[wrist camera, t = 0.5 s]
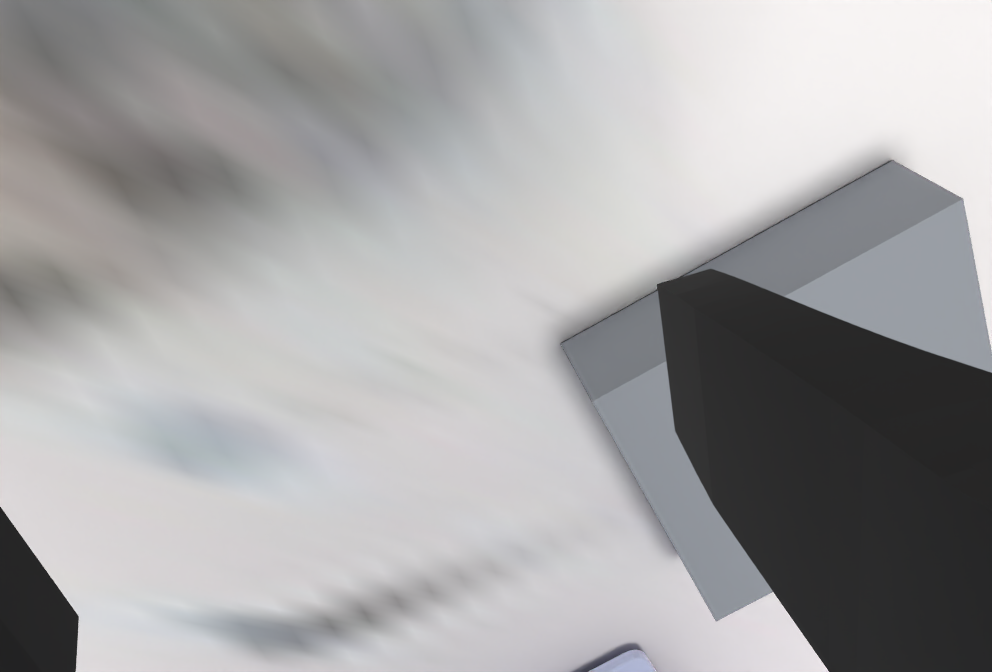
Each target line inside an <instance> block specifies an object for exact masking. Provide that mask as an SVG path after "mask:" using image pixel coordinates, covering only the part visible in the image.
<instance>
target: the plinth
mask: <svg viewBox="0 0 992 672" xmlns="http://www.w3.org/2000/svg"><path fill="white" fill-rule="evenodd" d="M707 269H714V270H717V271H720V272H723V273H726V274H729V275H731V276H734V277H737V278H739V279H742V280H744V281H747V282H749V283H752V284H754V285H757V286H759V287H762V288H764V289H767V290H769V291H772V292H774V293H776V294H779V295H781V296H784V297H786V298H789V299H791V300H794V301H796V302H799V303H801V304H803V305H806V306H808V307H811V308H813V309H816V310H818V311H821V312H823V313H826V314H828V315H831V316H833V317H836V318H838V319H841V320H843V321H846V322H849V323H851V324H854V325H856V326H859V327H861V328H864V329H867V330H869V331H872V332H875V333H877V334H880V335H883V336H885V337H888V338H891V339H893V340H896V341H899V342H902V343H905V344H907V345H910V346H913V347H916V348H919V349H921V350H924V351H927V352H930V353H933V354H936V355H939V356H942V357H945V358H948V359H952V360H955V361H958V362H961V363H964V364H967V365H970V366H973V367H976V368H979V369H982V370H985V371H988V372H991V373H992V351H991V346H990V341H989V335H988V330H987V325H986V319H985V314H984V308H983V303H982V298H981V292H980V287H979V282H978V276H977V271H976V265H975V260H974V255H973V249H972V244H971V239H970V233H969V228H968V222H967V217H966V212H965V206H964V201H963V198H961V197H959V196H957V195H955V194H953V193H952V192H950V191H948V190H946V189H944V188H943V187H941V186H939V185H937V184H935V183H933V182H932V181H930V180H928V179H926V178H924V177H923V176H921V175H919V174H917V173H915V172H913V171H912V170H910V169H908V168H906V167H904V166H903V165H901V164H899V163H897V162H895V161H893V160H892V161H890V162H889V163H887V164H885V165H883V166H881V167H880V168H878V169H876V170H874V171H872V172H871V173H869V174H867V175H865V176H863V177H862V178H860V179H858V180H856V181H854V182H852V183H851V184H849V185H847V186H845V187H843V188H842V189H840V190H838V191H836V192H834V193H833V194H831V195H829V196H827V197H825V198H824V199H822V200H820V201H818V202H816V203H815V204H813V205H811V206H809V207H807V208H805V209H804V210H802V211H800V212H798V213H796V214H795V215H793V216H791V217H789V218H787V219H786V220H784V221H782V222H780V223H778V224H777V225H775V226H773V227H771V228H769V229H767V230H766V231H764V232H762V233H760V234H758V235H757V236H755V237H753V238H751V239H749V240H748V241H746V242H744V243H742V244H740V245H739V246H737V247H735V248H733V249H731V250H730V251H728V252H726V253H724V254H722V255H720V256H719V257H717V258H715V259H713V260H711V261H710V262H708V263H706V264H704V265H702V266H701V267H699V268H697V269H695V270H693V271H692V272H690V273H688V274H686V275H684V276H687V275H691V274H694V273H697V272H701V271H704V270H707ZM684 276H683V277H684ZM561 345H562V347H563V349H564V351H565V353H566V355H567V356H568V358H569V360H570V362H571V364H572V366H573V368H574V369H575V371H576V373H577V375H578V377H579V379H580V380H581V382H582V384H583V386H584V388H585V390H586V391H587V393H588V395H589V397H590V399H591V401H592V402H593V404H594V406H595V408H596V410H597V411H598V413H599V415H600V417H601V418H602V420H603V422H604V424H605V425H606V427H607V429H608V431H609V433H610V434H611V436H612V438H613V440H614V441H615V443H616V445H617V447H618V449H619V450H620V452H621V454H622V456H623V457H624V459H625V461H626V463H627V464H628V466H629V468H630V470H631V472H632V473H633V475H634V477H635V479H636V480H637V482H638V484H639V486H640V487H641V489H642V491H643V493H644V495H645V496H646V498H647V500H648V502H649V503H650V505H651V507H652V509H653V511H654V512H655V514H656V516H657V518H658V519H659V521H660V523H661V525H662V526H663V528H664V530H665V532H666V534H667V535H668V537H669V539H670V541H671V542H672V544H673V546H674V548H675V549H676V551H677V553H678V555H679V557H680V558H681V560H682V562H683V564H684V565H685V567H686V569H687V571H688V573H689V574H690V576H691V578H692V580H693V581H694V583H695V585H696V587H697V588H698V590H699V592H700V594H701V596H702V597H703V599H704V601H705V603H706V604H707V606H708V608H709V610H710V611H711V613H712V615H713V617H714V619H715V620H716V621H718V620H720V619H722V618H724V617H726V616H727V615H729V614H731V613H733V612H735V611H737V610H739V609H741V608H743V607H745V606H747V605H749V604H751V603H752V602H754V601H756V600H758V599H760V598H762V597H764V596H766V595H768V594H770V593H772V592H773V591H772V589H771V588H770V586H769V585H768V584H767V582H766V581H765V579H764V578H763V576H762V575H761V574H760V572H759V571H758V569H757V568H756V566H755V565H754V564H753V562H752V561H751V559H750V558H749V556H748V555H747V553H746V552H745V551H744V549H743V548H742V546H741V545H740V543H739V542H738V540H737V539H736V538H735V536H734V535H733V533H732V532H731V530H730V529H729V527H728V526H727V525H726V523H725V522H724V520H723V519H722V517H721V516H720V514H719V513H718V511H717V510H716V508H715V507H714V505H713V504H712V502H711V500H710V498H709V496H708V494H707V492H706V490H705V489H704V487H703V485H702V483H701V481H700V479H699V477H698V475H697V474H696V472H695V470H694V468H693V466H692V464H691V462H690V460H689V458H688V456H687V454H686V452H685V450H684V448H683V446H682V444H681V442H680V440H679V438H678V436H677V434H676V432H675V427H674V419H673V411H672V403H671V395H670V386H669V378H668V370H667V362H666V354H665V345H664V337H663V329H662V321H661V313H660V305H659V296H658V290H657V291H655V292H654V293H652V294H650V295H648V296H646V297H645V298H643V299H641V300H639V301H637V302H636V303H634V304H632V305H630V306H628V307H626V308H625V309H623V310H621V311H619V312H617V313H616V314H614V315H612V316H610V317H608V318H607V319H605V320H603V321H601V322H599V323H598V324H596V325H594V326H592V327H590V328H588V329H587V330H585V331H583V332H581V333H579V334H578V335H576V336H574V337H572V338H570V339H569V340H567V341H565V342H563V343H561Z"/></svg>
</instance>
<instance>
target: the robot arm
mask: <svg viewBox="0 0 992 672" xmlns="http://www.w3.org/2000/svg"><path fill="white" fill-rule="evenodd" d="M657 288H658V296H659V305H660V313H661V321H662V329H663V337H664V345H665V354H666V362H667V370H668V378H669V386H670V395H671V403H672V411H673V419H674V427H675V432H676V434H677V436H678V438H679V440H680V442H681V444H682V446H683V448H684V450H685V452H686V454H687V456H688V458H689V460H690V462H691V464H692V466H693V468H694V470H695V472H696V474H697V475H698V477H699V479H700V481H701V483H702V485H703V487H704V489H705V490H706V492H707V494H708V496H709V498H710V500H711V502H712V504H713V505H714V507H715V508H716V510H717V511H718V513H719V514H720V516H721V517H722V519H723V520H724V522H725V523H726V525H727V526H728V527H729V529H730V530H731V532H732V533H733V535H734V536H735V538H736V539H737V540H738V542H739V543H740V545H741V546H742V548H743V549H744V551H745V552H746V553H747V555H748V556H749V558H750V559H751V561H752V562H753V564H754V565H755V566H756V568H757V569H758V571H759V572H760V574H761V575H762V576H763V578H764V579H765V581H766V582H767V584H768V585H769V586H770V588H771V589H772V591H773V592H774V594H775V595H776V596H777V598H778V599H779V601H780V602H781V604H782V605H783V606H784V608H785V609H786V611H787V612H788V614H789V615H790V616H791V618H792V619H793V621H794V622H795V624H796V625H797V626H798V628H799V629H800V631H801V632H802V633H803V635H804V636H805V638H806V639H807V641H808V642H809V643H810V645H811V646H812V648H813V649H814V651H815V652H816V653H817V655H818V656H819V658H820V659H821V661H822V662H823V663H824V665H825V666H826V668H827V669H828V671H829V672H992V373H991V372H988V371H985V370H982V369H979V368H976V367H973V366H970V365H967V364H964V363H961V362H958V361H955V360H952V359H948V358H945V357H942V356H939V355H936V354H933V353H930V352H927V351H924V350H921V349H919V348H916V347H913V346H910V345H907V344H905V343H902V342H899V341H896V340H893V339H891V338H888V337H885V336H883V335H880V334H877V333H875V332H872V331H869V330H867V329H864V328H861V327H859V326H856V325H854V324H851V323H849V322H846V321H843V320H841V319H838V318H836V317H833V316H831V315H828V314H826V313H823V312H821V311H818V310H816V309H813V308H811V307H808V306H806V305H803V304H801V303H799V302H796V301H794V300H791V299H789V298H786V297H784V296H781V295H779V294H776V293H774V292H772V291H769V290H767V289H764V288H762V287H759V286H757V285H754V284H752V283H749V282H747V281H744V280H742V279H739V278H737V277H734V276H731V275H729V274H726V273H723V272H720V271H717V270H714V269H707V270H704V271H701V272H697V273H694V274H691V275H687V276H684V277H680V278H677V279H674V280H670V281H667V282H664V283H660V284H657ZM78 620H79V616H78V615H77V613H76V612H75V611H74V609H73V608H72V606H71V605H70V604H69V602H68V601H67V599H66V598H65V597H64V595H63V594H62V592H61V591H60V590H59V588H58V587H57V585H56V584H55V583H54V581H53V580H52V578H51V577H50V576H49V574H48V573H47V571H46V570H45V569H44V567H43V566H42V564H41V563H40V562H39V560H38V559H37V557H36V556H35V555H34V553H33V552H32V550H31V549H30V548H29V546H28V545H27V544H26V542H25V541H24V539H23V538H22V537H21V535H20V534H19V532H18V531H17V530H16V528H15V527H14V525H13V524H12V523H11V521H10V520H9V518H8V517H7V516H6V514H5V513H4V511H3V510H2V509H1V507H0V672H75V671H76V656H77V638H78ZM588 672H657V671H656V669H655V668H654V666H653V665H652V663H651V662H650V660H649V659H648V657H647V656H646V654H645V653H644V652H643V651H640V650H630V651H627V652H625V653H623V654H621V655H619V656H617V657H615V658H613V659H611V660H609V661H607V662H605V663H604V664H602V665H600V666H598V667H596V668H594V669H592V670H590V671H588Z"/></svg>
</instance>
